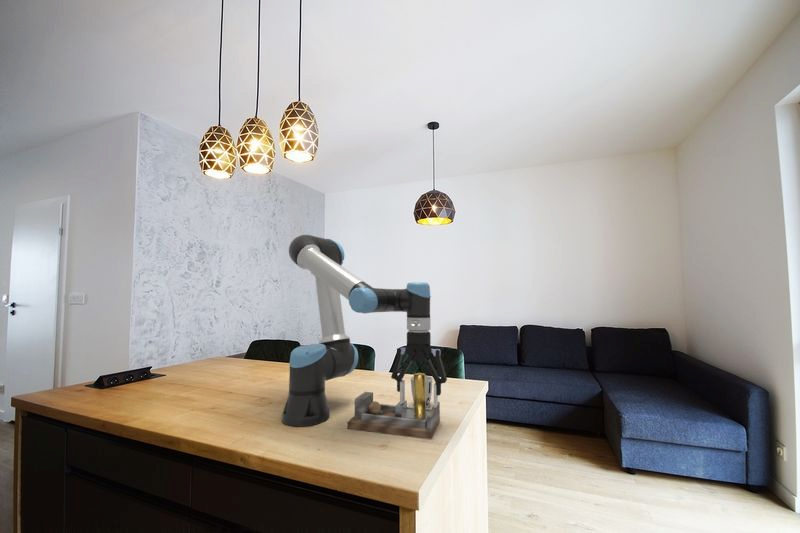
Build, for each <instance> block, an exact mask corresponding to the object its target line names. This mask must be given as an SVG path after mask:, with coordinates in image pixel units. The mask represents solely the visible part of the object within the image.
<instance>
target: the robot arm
mask: <svg viewBox="0 0 800 533" xmlns="http://www.w3.org/2000/svg"><path fill="white" fill-rule="evenodd" d="M288 255H289V257H290V259H291V261H292V262H293V263H294V264H295V265H297V267H298V268H301V269H302V270H308V271H309V272H310V274H311V275H312V276H314V278H315V286H316V295H317V302H318V312H319V320H320V327H321V329H320V330H321V339H320V340H319V341H318V343H310V344H305V345H304V344H303V345H300V346H297V347H296V348H293V350H292V351H291V352H290V356H289V357H290V358H289V362H288V365H289V378H288V379H289V380H288V382H289V384H288V397H287V399H286V402H285V406H284V408H283V411H282V415H281V417H282V418H281V421H282V422H281V423H283V424H284V425H285V426H286V425H287V426H290V427H309V426H313V425H317V424H318V425H319V424H320V423H321V424H322V423H323V422H325V421H327V420H328V419H330V414H331V413H330V412H331V410H330V406H329V402H328V398H327V396H326V381H330V380H333V379H337V378H342V377H345V376H347V375H349V374H351V373H353V372H354V370H355V369H356V367H357V366H358V362H359V352H358V348H357V347H356V346H355V345H354V344H353V343H351V340H350V336H348V334H346V331H345V323H344V322H345V321H344V316H343V308H342V300H341V296H342V297H344V298H345V299H346V300H348V305H349V306H350V308H351V310H352V311H353V312H355V313H360V314H370V313H391V312H392V313H393V312H394V313H398V312H399V313H400V312H402V313H405V312H406V330H407V332H406V346H405V347H401V346H400V347H398V348H397V349H396V358H395V361H394V365H393V369H392V373H391V377H390V378H391V380H395V381H396V391H397V392H398V393H399V402H400V404H403V403H404V402H405V401H406V400H405V399H406V397H405V395H406V392H405V391H406V386H405V385H406V381H405V380H404V379H403V378H404V376H405V375H406V373H407V371H408V369H409V368H410V366H411V364H412V362H420V363H423V362H424V364H425V365H426V367H427V369H428V371H429V372H430V375H431V377H432V380H434V382H435V383H433V406H434V407H437V405H438V402H439V396H441V394H442V384H445V383H447V381H448V377H447V374H446V372H445V367H444V364H443V360H442V357H441V356H442V355H441V354H442V351H441V348H435V349H434V348H432V346H431V343H432V342H431V341H432V340H431V338H432V336H431V332H430V330H431V297H432V296H431V288H430V284H429V283H428V282H419V281H417V282H416V281H415V282H414V281H413V282H408V283H406V288H403V289H402V288H401V289H400V288H380V287H372V285H370V284H368V283H367V282H365V281H364V280H362V279H361V278H359V277H358V276H356V275H355V274H353V273H352V272H351V271H349V270H348V269H346V268H345V267H343V263H344V260H345V251H344V248H343V246H342V245H341V244H340V243H339V242H337V241H335V240H333V239H331V238H325V237H319V236H315V235H312V234H311V235H310V234H302V235H299V236H297V237H295V238H294V239H293V240H292V241H290V244H289V246H288ZM405 353H406V354H407V355H408V358H407V359H406V361H405V364H404V365H403V366H402V368H401V370H400V367H401V364H402V359H403V355H404V354H405ZM431 354H432V355H433V357H435V363H436V365H437V369H438V372H437V370H436V369H435V367H434V364H433V362H432V360H431V358H430V355H431ZM399 371H400V372H399ZM438 373H439V374H438Z"/></svg>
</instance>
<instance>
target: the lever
mask: <svg viewBox="0 0 800 533" xmlns="http://www.w3.org/2000/svg"><path fill="white" fill-rule="evenodd" d="M413 376H414V401H413V407H414V410H413V409H407V407H408V400H405V402H404V403H403V404H400V401H398V403H397V404H395V405H396V406H395V417H400V418H409V419H418V420H426V426H427V415H428V414H429V412H430V411H426V409H427V408H426V385H425V376H426V373H423V372H416V373H413Z"/></svg>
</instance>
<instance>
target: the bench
mask: <svg viewBox="0 0 800 533" xmlns="http://www.w3.org/2000/svg"><path fill="white" fill-rule="evenodd" d="M372 402H374V392H372V391H371V392H370V391H364V392H362V393H361V394H360V395H358V396H356V397H355V398H354V416H353V417H352V418H350V419H349V420H347V425H346V426H347V427H346V429H348V430H356V431H365V432H371V433H380V434H386V435H394V436H403V437H411V438H416V439H425V440H432V438H433V436H434V435H435V432H436V431H437V429H438V426H439V424H440V422H441V416H440V415H441V414H440V413H441V411H440V406H441V403H440V401H438V405H437V407H434V405H433V406H432V407H431V408H426V411H430V412H429V414H428V415H427V426H426V420H418V419H409V418H400V417H395V406H396V405H397V404H395V405H393V404H384V403H379V404H380V405H381V411H380V412H379V413H378V414H377V415H373V414H371V413H370V412H369V405H370V403H372ZM407 409H413V410H414V406H407Z"/></svg>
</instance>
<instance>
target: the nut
mask: <svg viewBox="0 0 800 533" xmlns="http://www.w3.org/2000/svg"><path fill="white" fill-rule="evenodd" d="M380 404H381V403H380V402H378V401H374V400H373V402H372V403H370V405H369V412H370V413H371V414H373V415H377V414H378V413H379V412H380V411H381V405H380Z"/></svg>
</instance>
